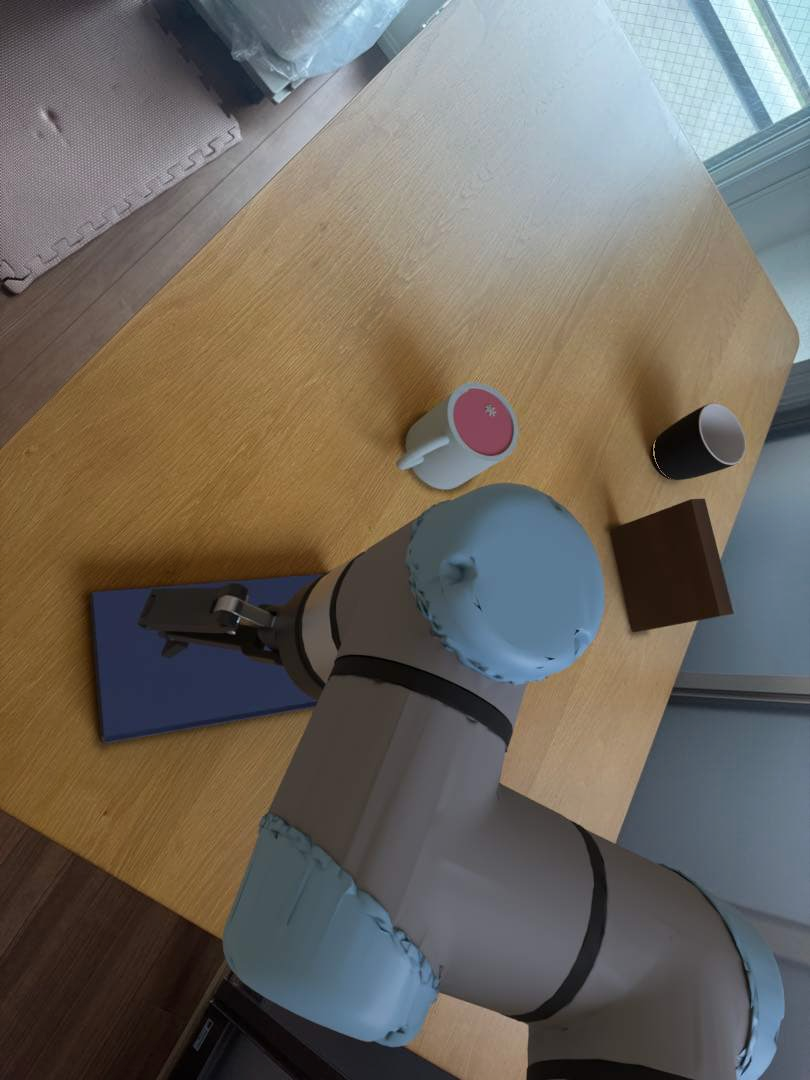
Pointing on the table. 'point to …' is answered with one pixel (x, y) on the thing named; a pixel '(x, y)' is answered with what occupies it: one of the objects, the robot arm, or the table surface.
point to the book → (182, 669)
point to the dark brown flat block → (671, 567)
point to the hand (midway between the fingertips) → (255, 670)
